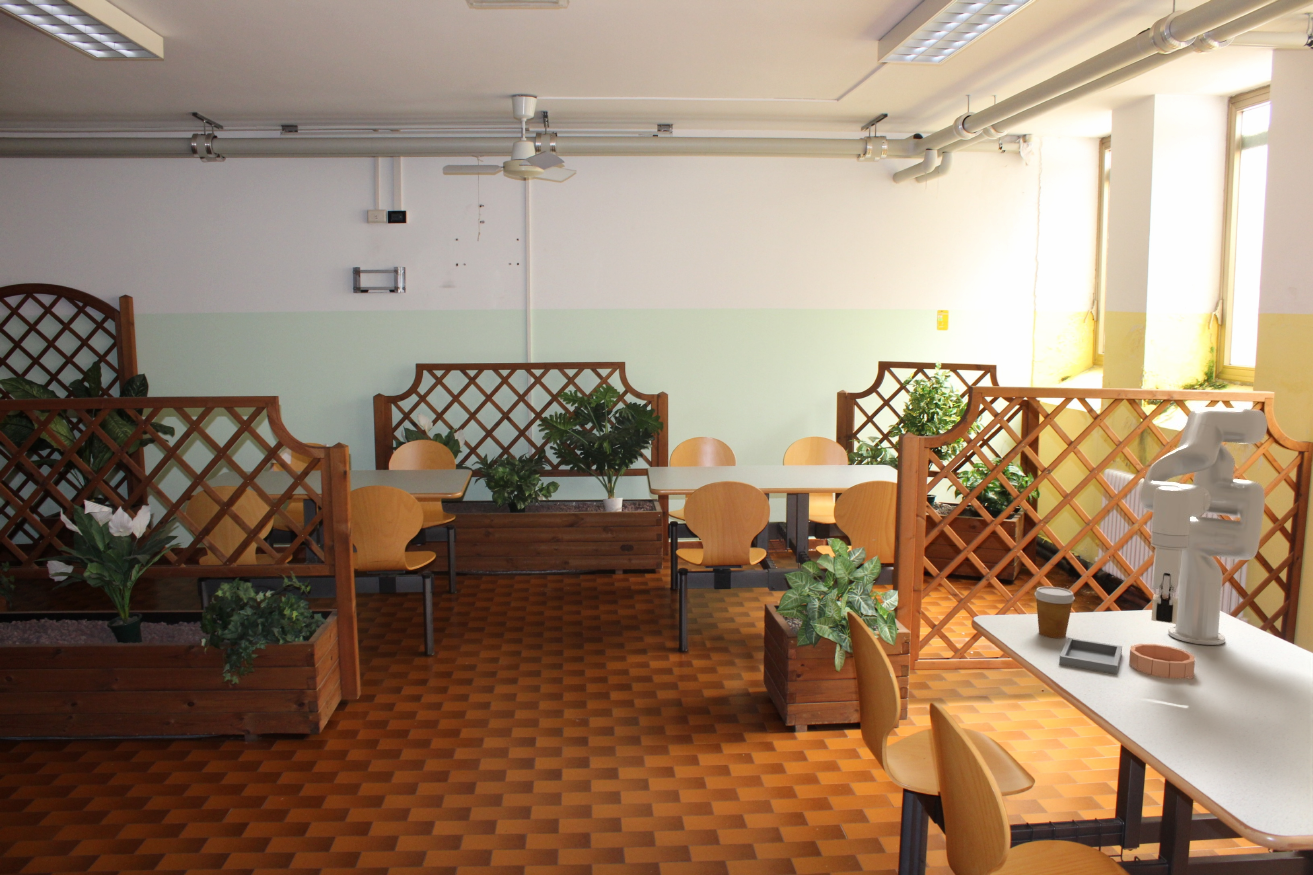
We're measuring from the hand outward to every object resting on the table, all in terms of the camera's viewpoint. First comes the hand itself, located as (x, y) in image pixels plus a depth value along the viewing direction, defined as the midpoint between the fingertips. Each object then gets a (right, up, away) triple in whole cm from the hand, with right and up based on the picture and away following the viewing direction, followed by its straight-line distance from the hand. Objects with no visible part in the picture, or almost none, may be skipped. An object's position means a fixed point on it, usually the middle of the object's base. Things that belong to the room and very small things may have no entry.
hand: (1164, 617), depth 206 cm
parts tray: (-14, -12, +7) cm, 19 cm away
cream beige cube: (0, -1, 0) cm, 1 cm away
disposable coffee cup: (-15, -10, +25) cm, 31 cm away
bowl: (0, -13, +1) cm, 13 cm away
